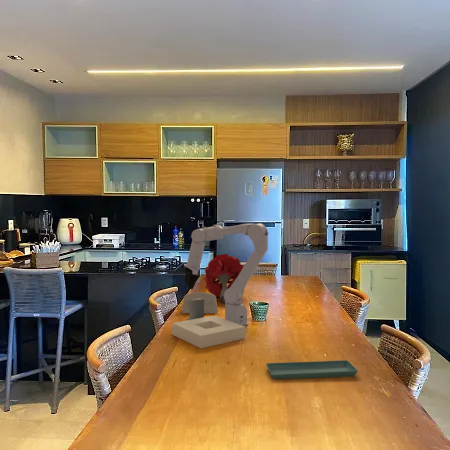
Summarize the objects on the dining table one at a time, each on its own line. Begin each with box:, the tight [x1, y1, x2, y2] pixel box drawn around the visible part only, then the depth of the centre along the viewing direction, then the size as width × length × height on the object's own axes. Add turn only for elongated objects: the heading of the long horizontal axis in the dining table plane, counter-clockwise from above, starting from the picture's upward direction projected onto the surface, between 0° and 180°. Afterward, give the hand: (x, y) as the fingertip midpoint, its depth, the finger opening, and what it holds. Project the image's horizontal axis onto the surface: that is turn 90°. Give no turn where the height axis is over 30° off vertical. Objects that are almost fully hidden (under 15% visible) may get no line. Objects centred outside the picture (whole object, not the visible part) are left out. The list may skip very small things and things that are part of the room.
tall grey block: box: [186, 298, 205, 321], centre depth 192 cm, size 6×6×10 cm
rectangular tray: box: [265, 359, 359, 380], centre depth 137 cm, size 26×9×2 cm, turn 95°
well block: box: [171, 315, 246, 349], centre depth 172 cm, size 20×20×4 cm
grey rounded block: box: [181, 291, 219, 314], centre depth 211 cm, size 17×5×10 cm, turn 91°
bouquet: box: [204, 253, 244, 304], centre depth 240 cm, size 22×24×30 cm
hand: (188, 286), depth 196 cm, fingers open, 7 cm apart
